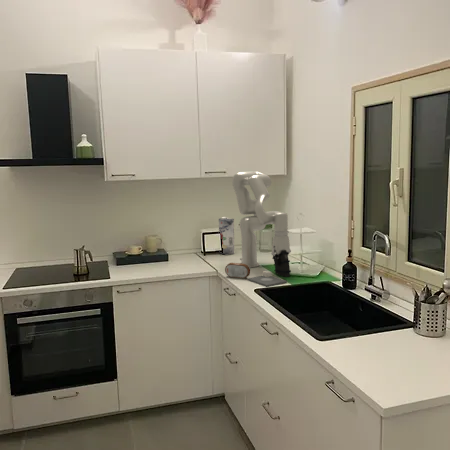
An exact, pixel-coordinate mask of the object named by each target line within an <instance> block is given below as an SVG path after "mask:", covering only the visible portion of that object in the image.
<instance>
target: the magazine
mask: <svg viewBox="0 0 450 450" xmlns="http://www.w3.org/2000/svg"><path fill="white" fill-rule="evenodd" d="M287 253H288V252H287V251H286V250H283V251H281V253H280V258H279V259H280V265H276V258H275V257H274V256H273V255H272V258H271V259H272V260H273V261H274V264H273V266H274V269H273V270H274V273H275V274H276V275H278V276H282V277H285V278H289V277H291V272H292V270H291V267H290V263H291V260H290V259H289V254H288V255H287ZM277 256H278V254H277Z"/></svg>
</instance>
